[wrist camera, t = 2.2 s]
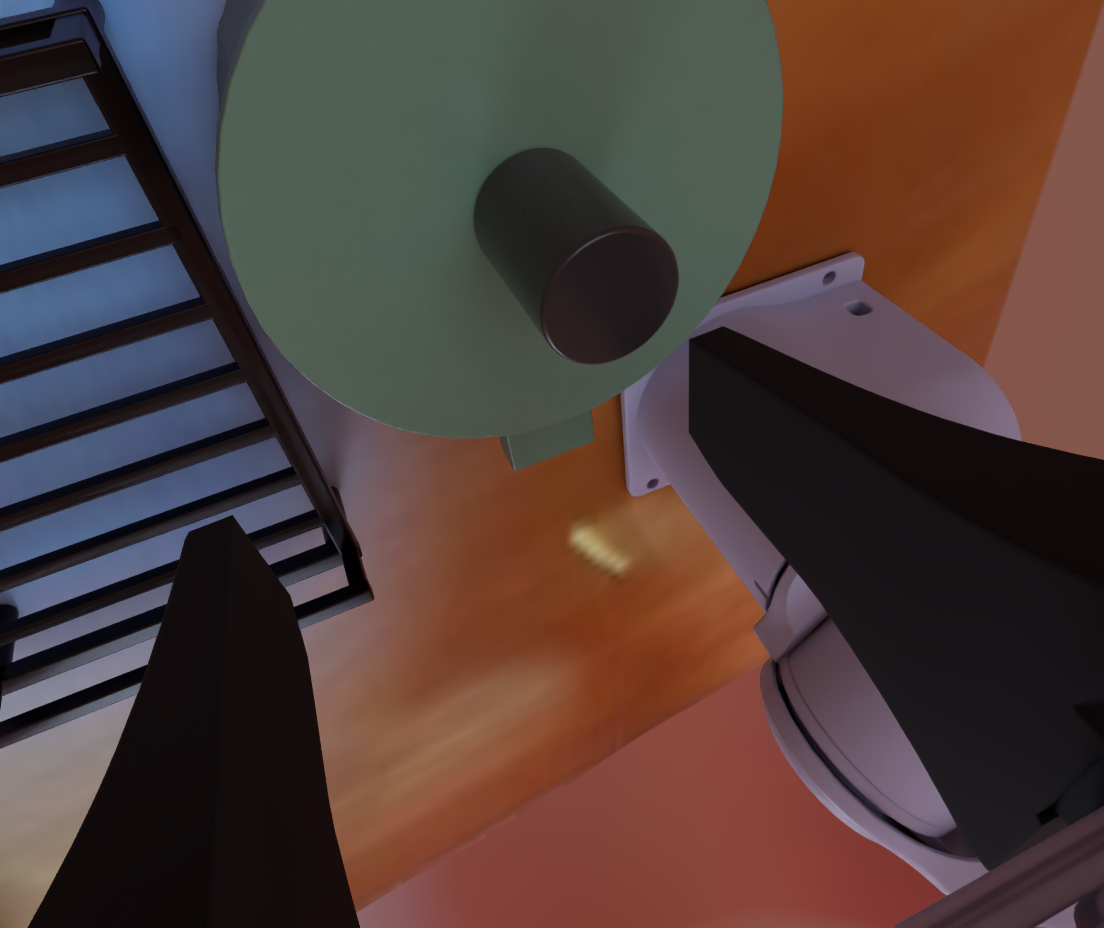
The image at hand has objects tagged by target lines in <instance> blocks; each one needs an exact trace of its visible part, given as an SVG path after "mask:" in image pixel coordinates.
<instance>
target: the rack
mask: <svg viewBox="0 0 1104 928" xmlns="http://www.w3.org/2000/svg"><path fill="white" fill-rule="evenodd" d="M104 23H105V14H104V10H103V7H102V5H101V3H100V2H99V1H98V0H55V1H54V4H53V7H51V8H46V9H42V10H37V11H33V12H28V13H24V14H20V15H15V16H11V17H6V18H2V19H0V97H3V96H8V95H12V94H16V93H20V92H24V91H28V90H32V89H36V88H41V87H45V86H49V85H53V84H57V83H61V82H65V81H69V80H74V79H78V78H83V80H84V81H85V83H86V85H87V87H88V89H89V91H90V93H91V94H92V96H93V98H94V100H95V102H96V104H97V106H98V107H99V109H100V111H101V113H102V115H103V117H104V119H105V120H106V122H107V124H108V126H109V128H110V129H107V130H103V131H99V132H95V133H91V134H88V135H84V136H80V137H76V138H72V139H68V140H64V141H60V142H56V143H52V144H49V145H45V146H41V147H37V148H33V149H29V150H25V151H21V152H17V153H14V154H10V155H6V156H2V157H0V188H4V187H8V186H11V185H15V184H19V183H23V182H27V181H30V180H34V179H38V178H42V177H45V176H49V175H53V174H57V173H61V172H64V171H68V170H72V169H76V168H80V167H83V166H87V165H91V164H95V163H98V162H102V161H106V160H110V159H114V158H117V157H121V156H125V157H126V159H127V161H128V163H129V165H130V167H131V169H132V170H133V172H134V174H135V176H136V178H137V180H138V182H139V183H140V185H141V187H142V189H143V191H144V193H145V195H146V196H147V198H148V200H149V202H150V204H151V206H152V208H153V209H154V211H155V213H156V215H157V217H158V219H159V220H158V221H155V222H151V223H148V224H144V225H140V226H137V227H133V228H130V229H126V230H123V231H119V232H116V233H112V234H109V235H105V236H102V237H98V238H94V239H91V240H87V241H84V242H80V243H77V244H73V245H70V246H66V247H63V248H59V249H56V250H52V251H48V252H45V253H41V254H38V255H34V256H31V257H27V258H24V259H20V260H17V261H13V262H10V263H6V264H3V265H0V294H2V293H5V292H9V291H12V290H16V289H19V288H22V287H26V286H29V285H33V284H36V283H40V282H43V281H47V280H50V279H54V278H57V277H60V276H64V275H67V274H71V273H74V272H78V271H81V270H85V269H88V268H92V267H95V266H98V265H102V264H105V263H109V262H112V261H116V260H119V259H123V258H126V257H130V256H133V255H136V254H140V253H143V252H147V251H150V250H154V249H157V248H161V247H164V246H167V245H171V244H172V245H173V247H174V248H175V250H176V252H177V254H178V256H179V258H180V260H181V261H182V263H183V265H184V267H185V269H186V271H187V273H188V274H189V276H190V278H191V280H192V282H193V284H194V286H195V287H196V289H197V291H198V293H199V295H200V297H198V298H195V299H191V300H188V301H185V302H181V303H178V304H175V305H172V306H168V307H165V308H162V309H158V310H155V311H152V312H149V313H145V314H142V315H139V316H136V317H132V318H129V319H126V320H122V321H119V322H116V323H113V324H109V325H106V326H103V327H99V328H96V329H93V330H90V331H86V332H83V333H80V334H76V335H73V336H70V337H67V338H63V339H60V340H57V341H54V342H50V343H47V344H44V345H40V346H37V347H34V348H31V349H27V350H24V351H21V352H17V353H14V354H11V355H8V356H4V357H1V358H0V384H4V383H7V382H10V381H13V380H16V379H20V378H23V377H26V376H29V375H33V374H36V373H39V372H42V371H45V370H49V369H52V368H55V367H58V366H61V365H65V364H68V363H71V362H74V361H78V360H81V359H84V358H87V357H90V356H94V355H97V354H100V353H103V352H106V351H110V350H113V349H116V348H119V347H122V346H126V345H129V344H132V343H135V342H139V341H142V340H145V339H148V338H151V337H155V336H158V335H161V334H164V333H167V332H171V331H174V330H177V329H180V328H184V327H187V326H190V325H193V324H196V323H200V322H203V321H206V320H209V319H213V321H214V323H215V325H216V326H217V328H218V330H219V332H220V334H221V336H222V338H223V339H224V341H225V343H226V345H227V347H228V349H229V351H230V352H231V354H232V356H233V358H234V360H235V362H233V363H230V364H227V365H224V366H221V367H218V368H215V369H212V370H209V371H205V372H202V373H199V374H196V375H193V376H190V377H187V378H184V379H181V380H178V381H175V382H171V383H168V384H165V385H162V386H159V387H156V388H153V389H150V390H147V391H144V392H141V393H138V394H134V395H131V396H128V397H125V398H122V399H119V400H116V401H113V402H110V403H107V404H104V405H101V406H97V407H94V408H91V409H88V410H85V411H82V412H79V413H76V414H73V415H70V416H67V417H63V418H60V419H57V420H54V421H51V422H48V423H45V424H42V425H39V426H36V427H33V428H30V429H26V430H23V431H20V432H17V433H14V434H11V435H8V436H5V437H2V438H0V463H2V462H5V461H8V460H11V459H14V458H17V457H20V456H23V455H26V454H29V453H32V452H35V451H38V450H41V449H44V448H48V447H51V446H54V445H57V444H60V443H63V442H66V441H69V440H72V439H75V438H78V437H81V436H84V435H87V434H90V433H93V432H96V431H99V430H102V429H105V428H108V427H111V426H114V425H117V424H120V423H123V422H126V421H129V420H132V419H135V418H138V417H141V416H144V415H148V414H151V413H154V412H157V411H160V410H163V409H166V408H169V407H172V406H175V405H178V404H181V403H184V402H187V401H190V400H193V399H196V398H199V397H202V396H205V395H208V394H211V393H214V392H217V391H220V390H223V389H226V388H229V387H232V386H235V385H238V384H241V383H244V382H247V384H248V386H249V388H250V390H251V391H252V393H253V395H254V397H255V399H256V401H257V403H258V404H259V406H260V408H261V410H262V412H263V414H264V416H265V417H266V418H264V419H261V420H258V421H255V422H252V423H249V424H246V425H243V426H240V427H237V428H234V429H231V430H228V431H225V432H222V433H220V434H217V435H214V436H211V437H208V438H205V439H202V440H199V441H196V442H193V443H190V444H187V445H184V446H181V447H178V448H176V449H173V450H170V451H167V452H164V453H161V454H158V455H155V456H152V457H149V458H146V459H143V460H140V461H137V462H134V463H132V464H129V465H126V466H123V467H120V468H117V469H114V470H111V471H108V472H105V473H102V474H99V475H96V476H93V477H90V478H87V479H85V480H82V481H79V482H76V483H73V484H70V485H67V486H64V487H61V488H58V489H55V490H52V491H49V492H46V493H43V494H41V495H38V496H35V497H32V498H29V499H26V500H23V501H20V502H17V503H14V504H11V505H8V506H5V507H2V508H0V532H1V531H4V530H7V529H10V528H13V527H16V526H19V525H21V524H24V523H27V522H30V521H33V520H36V519H39V518H42V517H45V516H47V515H50V514H53V513H56V512H59V511H62V510H65V509H68V508H71V507H73V506H76V505H79V504H82V503H85V502H88V501H91V500H94V499H96V498H99V497H102V496H105V495H108V494H111V493H114V492H117V491H120V490H122V489H125V488H128V487H131V486H134V485H137V484H140V483H143V482H146V481H148V480H151V479H154V478H157V477H160V476H163V475H166V474H169V473H172V472H174V471H177V470H180V469H183V468H186V467H189V466H192V465H195V464H197V463H200V462H203V461H206V460H209V459H212V458H215V457H218V456H221V455H223V454H226V453H229V452H232V451H235V450H238V449H241V448H244V447H247V446H249V445H252V444H255V443H258V442H261V441H264V440H267V439H270V438H273V437H275V436H276V438H277V440H278V442H279V443H280V445H281V447H282V449H283V451H284V453H285V455H286V456H287V458H288V460H289V462H290V464H291V466H292V467H289V468H286V469H283V470H281V471H278V472H275V473H272V474H269V475H267V476H264V477H261V478H258V479H255V480H253V481H250V482H247V483H244V484H241V485H238V486H236V487H233V488H230V489H227V490H224V491H222V492H219V493H216V494H213V495H210V496H208V497H205V498H202V499H199V500H196V501H194V502H191V503H188V504H185V505H182V506H179V507H177V508H174V509H171V510H168V511H165V512H163V513H160V514H157V515H154V516H151V517H149V518H146V519H143V520H140V521H137V522H134V523H132V524H129V525H126V526H123V527H120V528H118V529H115V530H112V531H109V532H106V533H104V534H101V535H98V536H95V537H92V538H89V539H87V540H84V541H81V542H78V543H75V544H73V545H70V546H67V547H64V548H61V549H59V550H56V551H53V552H50V553H47V554H44V555H42V556H39V557H36V558H33V559H30V560H28V561H25V562H22V563H19V564H16V565H14V566H11V567H8V568H5V569H2V570H0V592H3V591H6V590H9V589H11V588H14V587H17V586H20V585H22V584H25V583H28V582H31V581H34V580H36V579H39V578H42V577H45V576H47V575H50V574H53V573H56V572H58V571H61V570H64V569H67V568H70V567H72V566H75V565H78V564H81V563H83V562H86V561H89V560H92V559H94V558H97V557H100V556H103V555H106V554H108V553H111V552H114V551H117V550H119V549H122V548H125V547H128V546H130V545H133V544H136V543H139V542H142V541H144V540H147V539H150V538H153V537H155V536H158V535H161V534H164V533H166V532H169V531H172V530H175V529H178V528H180V527H183V526H186V525H189V524H191V523H194V522H197V521H200V520H202V519H205V518H208V517H211V516H214V515H216V514H219V513H222V512H225V511H227V510H230V509H233V508H236V507H238V506H241V505H244V504H247V503H250V502H252V501H255V500H258V499H261V498H263V497H266V496H269V495H272V494H275V493H277V492H280V491H283V490H286V489H288V488H291V487H294V486H297V485H299V484H302V486H303V488H304V490H305V492H306V494H307V495H308V497H309V499H310V501H311V503H312V505H313V507H314V508H315V509H314V510H312V511H309V512H306V513H304V514H301V515H298V516H295V517H293V518H290V519H287V520H285V521H282V522H279V523H276V524H274V525H271V526H268V527H266V528H263V529H260V530H257V531H255V532H252V533H249V534H247V536H248V537H249V539H250V540H251V542H252V543H253V544H254V546H255V547H256V549H257V550H260V549H262V548H265V547H268V546H270V545H273V544H276V543H278V542H281V541H284V540H286V539H289V538H292V537H294V536H297V535H300V534H302V533H305V532H308V531H310V530H313V529H316V528H318V527H322V531H323V535H324V539H325V543H326V544H323V545H321V546H318V547H316V548H313V549H310V550H308V551H305V552H302V553H300V554H297V555H294V556H292V557H289V558H286V559H284V560H281V561H279V562H276V563H273V564H271V565H269V567H270V568H271V569H272V571H273V572H274V574H275V575H276V576H277V578H278V579H279V581H280V582H281V583H282V585H283V586H284V587H286V586H289V585H291V584H294V583H296V582H299V581H302V580H304V579H307V578H309V577H312V576H315V575H317V574H320V573H322V572H325V571H328V570H330V569H333V568H335V567H338V566H341V565H344V568H345V572H346V576H347V580H348V584H349V586H347V587H344V588H341V589H339V590H336V591H334V592H331V593H329V594H326V595H324V596H321V597H319V598H316V599H313V600H311V601H308V602H306V603H303V604H301V605H298V606H296V607H294V610H295V613H296V617H297V620H298V624H299V627H300V629H302V628H305V627H307V626H310V625H312V624H315V623H317V622H320V621H322V620H325V619H327V618H330V617H332V616H335V615H337V614H340V613H342V612H345V611H347V610H350V609H352V608H355V607H357V606H360V605H362V604H365V603H367V602H370V601H372V600H374V594H373V591H372V588H371V586H370V584H369V582H368V580H367V576H366V573H365V569H364V566H363V562H362V559H361V557H362V552H361V549H360V545H359V543H358V541H357V539H356V537H355V535H354V533H353V531H352V529H351V527H350V525H349V523H348V521H347V517H346V514H345V510H344V507H343V503H342V500H341V496H340V492H339V490H338V489H337V488H335V487H333V486H330V484H329V482H328V480H327V478H326V476H325V474H324V472H323V470H322V468H321V466H320V464H319V462H318V460H317V458H316V456H315V454H314V452H313V450H312V448H311V446H310V444H309V442H308V440H307V438H306V436H305V434H304V432H303V430H302V428H301V426H300V424H299V422H298V420H297V418H296V416H295V414H294V412H293V410H292V408H291V406H290V404H289V402H288V400H287V398H286V396H285V394H284V392H283V390H282V388H281V386H280V384H279V382H278V380H277V378H276V376H275V374H274V372H273V370H272V368H271V366H270V364H269V362H268V360H267V358H266V356H265V354H264V352H263V350H262V348H261V346H260V344H259V342H258V340H257V338H256V336H255V334H254V332H253V330H252V328H251V326H250V324H249V322H248V320H247V318H246V316H245V314H244V312H243V310H242V308H241V306H240V304H239V302H238V300H237V298H236V296H235V294H234V292H233V290H232V288H231V286H230V283H229V281H228V279H227V277H226V275H225V273H224V271H223V269H222V267H221V265H220V263H219V261H218V259H217V257H216V255H215V253H214V251H213V249H212V247H211V245H210V243H209V241H208V239H207V237H206V235H205V233H204V231H203V229H202V227H201V225H200V223H199V221H198V219H197V217H196V215H195V213H194V211H193V209H192V207H191V205H190V203H189V201H188V199H187V197H186V195H185V193H184V191H183V189H182V187H181V185H180V183H179V181H178V179H177V177H176V175H175V173H174V171H173V169H172V167H171V165H170V163H169V161H168V159H167V157H166V155H165V153H164V151H163V149H162V147H161V145H160V143H159V141H158V139H157V137H156V135H155V133H154V131H153V129H152V127H151V125H150V123H149V121H148V119H147V117H146V115H145V113H144V111H143V109H142V107H141V105H140V103H139V101H138V99H137V97H136V95H135V93H134V91H133V89H132V87H131V85H130V83H129V81H128V79H127V77H126V75H125V73H124V71H123V68H122V66H121V64H120V62H119V60H118V58H117V56H116V54H115V52H114V50H113V48H112V46H111V44H110V42H109V40H108V38H107V36H106V34H105V32H104ZM179 560H180V559H179ZM179 560H176V561H173V562H171V563H168V564H165V565H163V566H160V567H157V568H154V569H152V570H149V571H146V572H144V573H141V574H138V575H135V576H133V577H130V578H127V579H125V580H122V581H119V582H116V583H114V584H111V585H108V586H106V587H103V588H100V589H97V590H95V591H92V592H89V593H87V594H84V595H81V596H78V597H76V598H73V599H70V600H68V601H65V602H62V603H60V604H57V605H54V606H51V607H49V608H46V609H43V610H41V611H38V612H35V613H32V614H30V615H27V616H24V617H22V618H19V619H18V615H19V613H18V611H17V609H16V608H14V607H12V606H9V605H0V708H1V701H2V696H4V695H6V694H9V693H11V692H14V691H17V690H19V689H22V688H24V687H27V686H30V685H32V684H35V683H37V682H40V681H43V680H45V679H48V678H50V677H53V676H56V675H58V674H61V673H63V672H66V671H68V670H71V669H74V668H76V667H79V666H81V665H84V664H87V663H89V662H92V661H94V660H97V659H100V658H102V657H105V656H107V655H110V654H113V653H115V652H118V651H120V650H123V649H125V648H128V647H131V646H133V645H136V644H138V643H141V642H144V641H146V640H149V639H151V638H154V637H157V635H158V632H159V629H160V626H161V623H162V619H163V616H164V612H165V609H166V606H167V604H165V605H162V606H160V607H157V608H154V609H152V610H149V611H147V612H144V613H141V614H139V615H136V616H133V617H131V618H128V619H125V620H123V621H120V622H118V623H115V624H112V625H110V626H107V627H104V628H102V629H99V630H96V631H94V632H91V633H88V634H86V635H83V636H81V637H78V638H75V639H73V640H70V641H67V642H65V643H62V644H59V645H57V646H54V647H52V648H49V649H46V650H44V651H41V652H38V653H36V654H33V655H30V656H28V657H25V658H22V659H20V660H17V661H15V662H12V660H13V652H14V645H15V641H16V640H19V639H21V638H24V637H27V636H30V635H32V634H35V633H38V632H40V631H43V630H46V629H48V628H51V627H54V626H56V625H59V624H62V623H64V622H67V621H70V620H72V619H75V618H78V617H80V616H83V615H86V614H88V613H91V612H94V611H96V610H99V609H102V608H104V607H107V606H110V605H112V604H115V603H118V602H120V601H123V600H126V599H128V598H131V597H134V596H136V595H139V594H142V593H145V592H147V591H150V590H153V589H155V588H158V587H161V586H163V585H166V584H169V583H171V582H173V581H174V578H175V574H176V571H177V567H178V563H179ZM146 668H147V665H145V666H143V667H140V668H137V669H135V670H132V671H130V672H127V673H125V674H122V675H120V676H117V677H114V678H112V679H109V680H107V681H104V682H102V683H99V684H97V685H94V686H91V687H89V688H86V689H84V690H81V691H79V692H76V693H74V694H71V695H69V696H66V697H63V698H61V699H58V700H56V701H53V702H51V703H48V704H46V705H43V706H40V707H38V708H35V709H33V710H30V711H28V712H25V713H23V714H20V715H18V716H15V717H12V718H10V719H7V720H5V721H2V722H0V749H1V748H3V747H6V746H8V745H11V744H13V743H16V742H18V741H21V740H23V739H26V738H28V737H31V736H33V735H36V734H38V733H41V732H44V731H46V730H49V729H51V728H54V727H56V726H59V725H61V724H64V723H66V722H69V721H71V720H74V719H76V718H79V717H81V716H84V715H86V714H89V713H91V712H94V711H96V710H99V709H101V708H104V707H106V706H109V705H111V704H114V703H116V702H119V701H121V700H124V699H126V698H129V697H131V696H134V695H136V694H138V691H139V689H140V686H141V683H142V680H143V677H144V674H145V671H146Z"/></svg>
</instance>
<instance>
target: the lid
mask: <svg viewBox="0 0 1104 928" xmlns="http://www.w3.org/2000/svg"><path fill="white" fill-rule="evenodd" d="M782 114H783V86H782V69H781V59H780V54H779V49H778V43H777V38H776V32H775V27H774V23H773V20H772V17H771V14H770V11H769V8H768V5H767V2H766V0H258V1H257V2H256V4H255V6H254V8H253V10H252V12H251V14H250V16H249V18H248V20H247V22H246V24H245V25H244V27H243V30H242V33H241V35H240V38H239V41H238V44H237V47H236V50H235V53H234V56H233V59H232V61H231V64H230V67H229V70H228V73H227V76H226V81H225V86H224V91H223V97H222V102H221V107H220V112H219V117H218V122H217V141H216V162H215V173H216V183H217V194H218V204H219V214H220V219H221V224H222V228H223V232H224V236H225V240H226V244H227V248H228V253H229V257H230V261H231V264H232V267H233V269H234V272H235V274H236V277H237V279H238V282H239V284H240V287H241V289H242V292H243V294H244V297H245V299H246V301H247V303H248V304H249V306H250V308H251V310H252V311H253V313H254V315H255V316H256V318H257V320H258V322H259V323H260V325H261V327H262V329H263V330H264V332H265V333H266V334H267V336H268V337H269V338H270V340H271V341H272V342H273V343H274V345H275V346H276V347H277V348H278V350H279V351H280V352H281V353H282V355H283V356H284V357H285V359H286V360H287V361H288V362H289V363H290V364H291V365H293V366H294V367H295V368H296V369H297V370H298V371H299V372H300V373H301V374H302V375H303V376H304V377H305V378H306V379H307V380H308V381H309V382H310V383H312V384H313V385H314V386H316V387H317V388H319V389H320V390H321V391H323V392H324V393H325V394H327V395H328V396H330V397H331V398H332V399H334V400H335V401H336V402H338V403H340V404H342V405H344V406H346V407H347V408H349V409H351V410H353V411H355V412H357V413H359V414H360V415H362V416H364V417H366V418H369V419H372V420H374V421H377V422H380V423H382V424H385V425H387V426H390V427H393V428H396V429H401V430H405V431H409V432H413V433H417V434H421V435H428V436H437V437H445V438H489V437H499V436H508V435H513V434H518V433H523V432H527V431H532V430H537V429H540V428H543V427H546V426H549V425H553V424H556V423H559V422H562V421H565V420H567V419H569V418H572V417H574V416H577V415H579V414H581V413H584V412H586V411H588V410H590V409H592V408H594V407H596V406H598V405H600V404H602V403H603V402H605V401H607V400H609V399H611V398H613V397H615V396H616V395H618V394H619V393H621V392H622V391H624V390H625V389H627V388H628V387H630V386H631V385H633V384H634V383H636V382H637V381H639V380H640V379H642V378H643V377H644V376H645V375H647V374H648V373H649V372H650V371H652V370H653V369H654V368H655V367H657V366H658V365H659V364H660V363H661V362H663V361H664V360H665V359H666V358H667V357H668V356H669V355H670V354H671V353H672V352H673V351H674V350H675V349H676V348H677V347H679V346H680V345H681V344H682V343H683V342H684V341H685V340H686V339H687V337H688V336H689V335H690V334H691V333H692V332H693V331H694V329H695V328H696V327H697V326H698V325H699V324H700V323H701V321H702V320H703V319H704V318H705V317H706V316H707V314H708V313H709V311H710V310H711V309H712V307H713V306H714V305H715V303H716V302H717V301H718V299H719V298H720V296H721V295H722V294H723V292H724V291H725V289H726V288H727V286H728V284H729V283H730V281H731V279H732V278H733V276H734V274H735V273H736V271H737V269H738V268H739V266H740V264H741V262H742V260H743V258H744V256H745V254H746V252H747V250H748V248H749V246H750V244H751V242H752V240H753V238H754V236H755V233H756V231H757V228H758V225H759V223H760V220H761V217H762V215H763V212H764V209H765V207H766V204H767V201H768V197H769V193H770V189H771V186H772V182H773V178H774V175H775V171H776V165H777V159H778V153H779V147H780V141H781V133H782Z"/></svg>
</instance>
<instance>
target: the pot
mask: <svg viewBox="0 0 1104 928" xmlns="http://www.w3.org/2000/svg"><path fill="white" fill-rule="evenodd" d="M257 1H258V0H227V2H226V5H225V8H224V13H223V15H222V17H221V20H220V22H219V28H218V30H217V34H218V63H217V82H218V93H219V112H220V107H221V102H222V97H223V91H224V86H225V81H226V76H227V73H228V70H229V67H230V64H231V61H232V59H233V56H234V53H235V50H236V47H237V44H238V41H239V38H240V35H241V33H242V30H243V27H244V25H245V24H246V22H247V20H248V18H249V16H250V14H251V12H252V10H253V8H254V6H255V4H256V2H257ZM499 437H500V441H501V445H502V449H503V451H504V453H505V455H506V457H507V459H508V460H509V462H510V464H511V466H512V468H513V470H514V471H517V470H520V469H522V468H525V467H528V466H530V465H533V464H536V463H538V462H541V461H543V460H546V459H549V458H551V457H554V456H557V455H559V454H562V453H565V452H567V451H570V450H572V449H575V448H578V447H580V446H583V445H586V444H588V443H591V442H593V441H594V432H593V422H592V412H591V409H590V410H588V411H586V412H584V413H581V414H579V415H577V416H574V417H572V418H569V419H567V420H565V421H562V422H559V423H556V424H553V425H549V426H546V427H543V428H540V429H537V430H532V431H527V432H523V433H518V434H513V435H508V436H499Z"/></svg>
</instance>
